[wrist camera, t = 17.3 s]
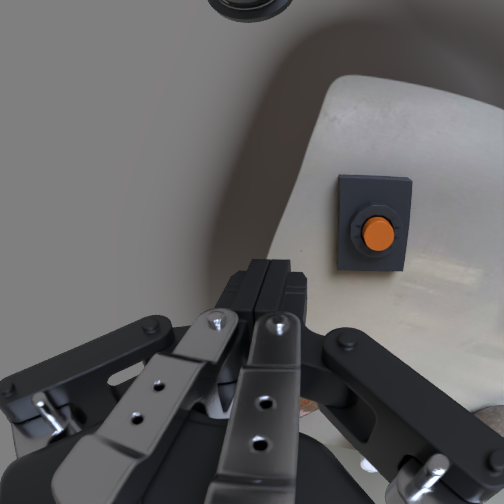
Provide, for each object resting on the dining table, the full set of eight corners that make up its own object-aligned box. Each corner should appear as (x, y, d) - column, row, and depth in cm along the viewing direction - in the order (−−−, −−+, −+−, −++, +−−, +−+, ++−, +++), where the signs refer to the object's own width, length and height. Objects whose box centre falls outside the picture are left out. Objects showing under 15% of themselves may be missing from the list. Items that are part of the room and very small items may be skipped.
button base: (338, 174, 36) (341, 180, 32) (407, 177, 34) (416, 183, 30) (336, 262, 41) (337, 276, 37) (399, 264, 39) (406, 278, 35)
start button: (363, 216, 34) (365, 220, 32) (392, 217, 33) (395, 221, 31) (361, 244, 35) (363, 250, 34) (389, 245, 34) (392, 251, 33)
